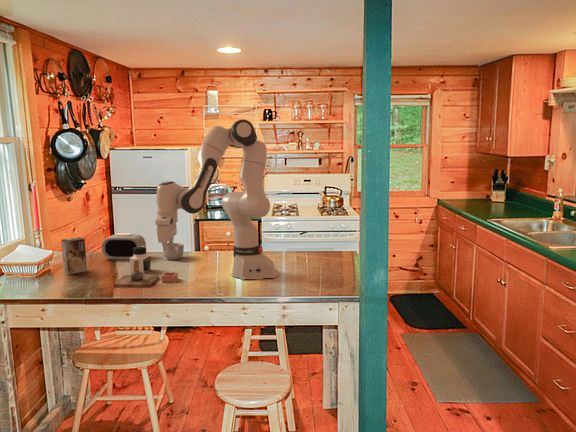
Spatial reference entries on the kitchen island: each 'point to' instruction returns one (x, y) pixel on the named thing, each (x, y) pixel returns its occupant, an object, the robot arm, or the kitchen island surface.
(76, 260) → the coffee box
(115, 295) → the kitchen island surface
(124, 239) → the alarm clock
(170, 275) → the ring
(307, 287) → the kitchen island surface
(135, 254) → the medicine bottle
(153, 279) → the toggle switch plate
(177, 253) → the teacup
